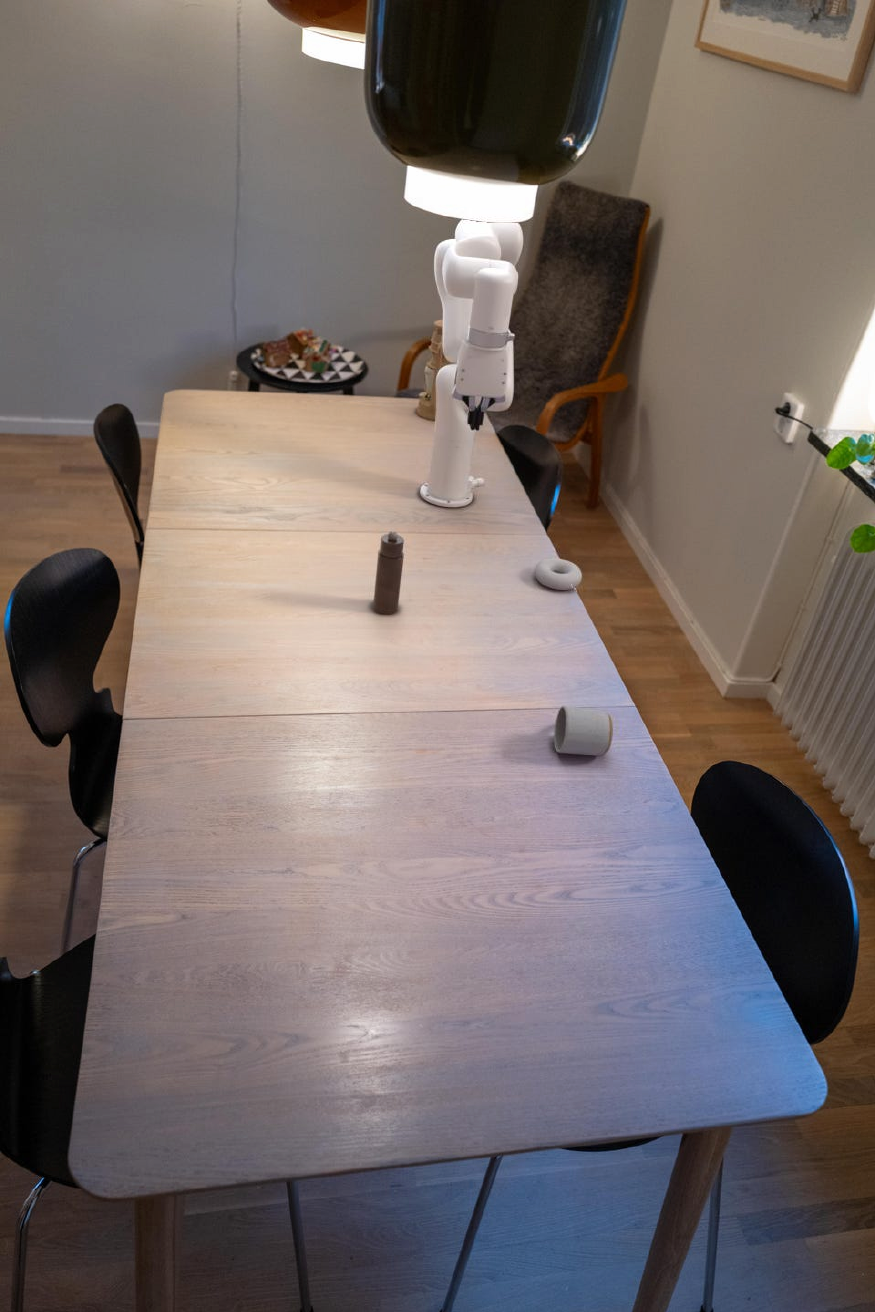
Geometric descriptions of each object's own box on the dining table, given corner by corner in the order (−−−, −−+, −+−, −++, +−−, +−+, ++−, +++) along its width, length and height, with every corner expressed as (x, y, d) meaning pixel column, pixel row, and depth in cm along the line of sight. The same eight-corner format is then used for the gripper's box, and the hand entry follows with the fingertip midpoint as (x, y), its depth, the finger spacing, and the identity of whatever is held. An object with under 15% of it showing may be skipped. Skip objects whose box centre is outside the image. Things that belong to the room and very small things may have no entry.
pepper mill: (389, 599, 196) (397, 523, 186) (402, 611, 192) (411, 535, 183) (368, 604, 193) (375, 528, 184) (381, 616, 190) (388, 539, 181)
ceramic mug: (608, 765, 160) (618, 727, 156) (558, 762, 160) (567, 724, 155) (595, 725, 169) (605, 688, 165) (548, 722, 168) (556, 685, 164)
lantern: (413, 403, 289) (424, 296, 272) (448, 405, 291) (462, 299, 274) (420, 422, 276) (432, 312, 260) (457, 424, 278) (471, 315, 262)
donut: (581, 596, 206) (579, 572, 214) (584, 582, 204) (582, 558, 212) (533, 589, 206) (533, 565, 214) (535, 575, 204) (536, 551, 212)
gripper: (522, 335, 197) (507, 424, 207) (447, 328, 195) (436, 418, 205) (528, 346, 191) (512, 438, 201) (450, 339, 188) (439, 432, 199)
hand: (474, 427), depth 203 cm, fingers closed
